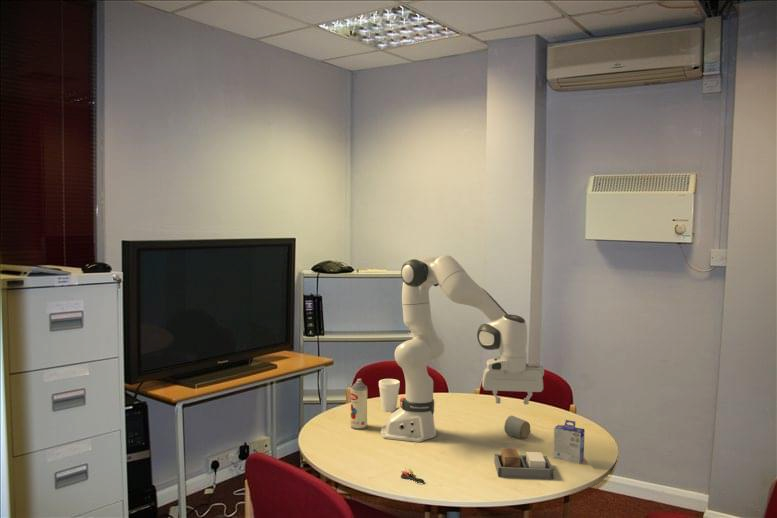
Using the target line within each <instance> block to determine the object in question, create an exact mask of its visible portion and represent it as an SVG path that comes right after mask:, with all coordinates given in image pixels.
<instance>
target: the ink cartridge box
mask: <svg viewBox="0 0 777 518" xmlns="http://www.w3.org/2000/svg"><path fill="white" fill-rule="evenodd" d="M568 423H571V424H568ZM552 447H553V449H552V459H554V460H559V461H563V462H568V463H574V464H577V465H581V463H582V462H583V461H584V458H585V428H581V427H576V421H575V420H570V419H569V420H568V419H565V422H564V424H557V425H555V427H553V445H552Z"/></svg>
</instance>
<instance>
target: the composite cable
mask: <svg viewBox="0 0 777 518" xmlns="http://www.w3.org/2000/svg"><path fill="white" fill-rule="evenodd" d="M400 472H401V475H400V478H402V479H405V480H409V479H410V480H409V481H412V480H413V481H412V482H414V481H415V482H414V483H416V482H417V483H416V484H418V483H424V484H425V480H424V479H422V478H419V477H415V474H414V471H413V470H412V469H411V468H406V467H405V468H404V470H400ZM420 481H421V482H420Z"/></svg>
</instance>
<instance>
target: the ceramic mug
mask: <svg viewBox="0 0 777 518" xmlns="http://www.w3.org/2000/svg"><path fill="white" fill-rule="evenodd" d="M503 427H504V428H503V429H504V432H505V434H506V435H508V436H511V437H515V438H517V439H521V440H525V439H527V438H528V436H530V435H531V431H532V430H531V425H530V422H528V421H527V420H525V419H522V418H520V417H517V416H514V415H509V416H508V417H507V418H506V419H505V422H504V426H503Z"/></svg>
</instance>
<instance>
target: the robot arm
mask: <svg viewBox="0 0 777 518" xmlns="http://www.w3.org/2000/svg"><path fill="white" fill-rule="evenodd" d="M400 274H401V279H402V288H401V306H402V316H403V317H402V318H403V323H404V326H405V327H407V328H408V329H409V331H410V334H411V337H412V339H408V340H405V341H403V342H402V343H400V344H399V345H397V347H396V348H395V350H394V360H395V362H396V364H397V365H398V366H399V367H400V368H401V369H402V372H403V375H404V380H405V381H404V382H405V397H404V396H401V397H400V398H399V402H400V407H399V408H398V409H396V411H394V412H391V414H390V415H389V416H388V417H387V420H386V424H385V425H383V426H382V427H381V428H380V436H381V438H383V439H385V440H387V439H388V440H398V441H405V442H416V443H421V442H423V441H425V440H429V439H433V438H435V437H436V436H437V430H436V425H435V420H434V418H435V417H434V415H435V414H434V413H435V399H434V380H433V378H432V377H431V376H430V375H429V373H428V369H427V366H428V364H431V363H434V362H436V361H437V360H439V359H440V358H441V357H443V355H444V353H445V344H444V342H443V340H442V339H441V338H440V337H439V336H438V334H437V332H436V330H435V327H434V324H433V320H432V312H431V303H430V302H431V301H430V292H429V291H430V289H431V288H432V286H434V287H438V286H439V288H440V289H441V290H442V292H443V293H444V294H445V296H446V297H447V298H448V299H449V301H450V300H451V301H452V302H453V303H456V304H459V305H464V306H469V307H474V308H476V309H478V310H480V311H481V312H482V313H483V314H484V315H485V316H486V317H487V318H488V319H489V320H490V321H489V322H484V323H483V324H481V325H480V326H479V327H478V330H477V333H476V337H477V341H478V344H479V345H480V347H481V348H482V349H483V350H488V351H494V350H498V351H499V356H496V357H493V358H489V359H487V360H486V368H485V369H484V371H483V374H482V385H481V386H482V388H483V390H484V391H492V394H493V396H494V398H495V404H501V396H498V392H501V391H502V392H522V393H523V392H526V393H527V395H526V397H524V398H523V404H524V405H529V403H530V401H529V400H530V399H531V397H532V396H533V393H541V392H542V391H543V390H544V379H543V377H544V375H545V368H544V366H543V365H541V364H539V363H527V361H528V360H527V356H528V355H527V350H526V349H527V348H526V347H527V345H528V327H527V326H528V325H527V323H526V320H525V318H524V317H522V316H519V315H516V314H511V313H510V314H508V313H507V311H506V310H505V309H503V307H502V306H501V305H500V304H499V303H498V301H496V300H495V299H494V298H493V296H492V295H491V294H490V293H488V291H487V290H485V289H484V288H483V287H481V286H480V285H479V284H478V283H476V282H475V281H474V279H473V278H472V277H471V276H470V275H469V273H467V271H466V270H465V268H463V266H462V264H460V263H459V262H458V261H457V260H456V259H455V258H454V257H452V256H451V255H448V254H444V255H440V256H436V257H434V256H426V257H425V256H424V257H422V258H416V259H415V258H414V259H410V260H407V261H405V262H404V263H403V264H402V267H401V270H400Z"/></svg>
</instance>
